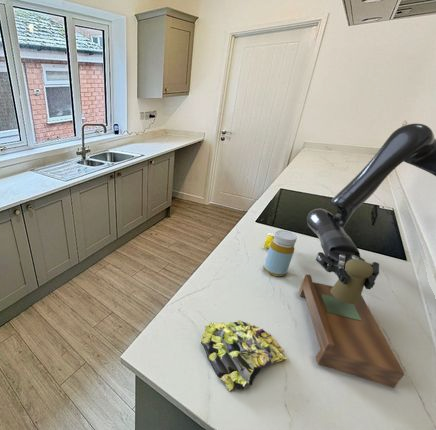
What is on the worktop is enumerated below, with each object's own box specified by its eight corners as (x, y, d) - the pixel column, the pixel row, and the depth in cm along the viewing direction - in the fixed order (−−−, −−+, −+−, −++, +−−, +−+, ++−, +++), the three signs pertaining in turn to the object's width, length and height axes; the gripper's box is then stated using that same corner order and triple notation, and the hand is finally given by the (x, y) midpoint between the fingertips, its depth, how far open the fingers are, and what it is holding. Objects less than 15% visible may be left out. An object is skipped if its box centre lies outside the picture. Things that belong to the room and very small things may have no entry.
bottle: (288, 270, 93) (300, 234, 86) (282, 280, 89) (295, 242, 82) (266, 262, 98) (277, 227, 91) (260, 271, 93) (271, 235, 86)
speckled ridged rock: (256, 322, 75) (269, 310, 70) (292, 388, 63) (310, 379, 58) (192, 325, 70) (202, 313, 66) (218, 396, 58) (231, 387, 54)
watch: (268, 251, 104) (272, 238, 101) (261, 248, 106) (264, 235, 103) (274, 245, 107) (278, 232, 105) (267, 242, 109) (270, 230, 106)
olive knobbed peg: (357, 292, 71) (375, 260, 66) (360, 307, 66) (380, 273, 61) (329, 284, 74) (344, 252, 68) (331, 298, 69) (347, 265, 64)
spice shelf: (353, 304, 79) (363, 285, 75) (394, 387, 57) (410, 366, 54) (298, 292, 84) (305, 273, 80) (317, 364, 62) (328, 343, 59)
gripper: (313, 231, 79) (328, 265, 65) (373, 241, 74) (403, 279, 60) (306, 252, 83) (318, 287, 69) (362, 262, 78) (388, 303, 64)
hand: (358, 283), depth 65 cm, fingers closed on olive knobbed peg, 4 cm apart
